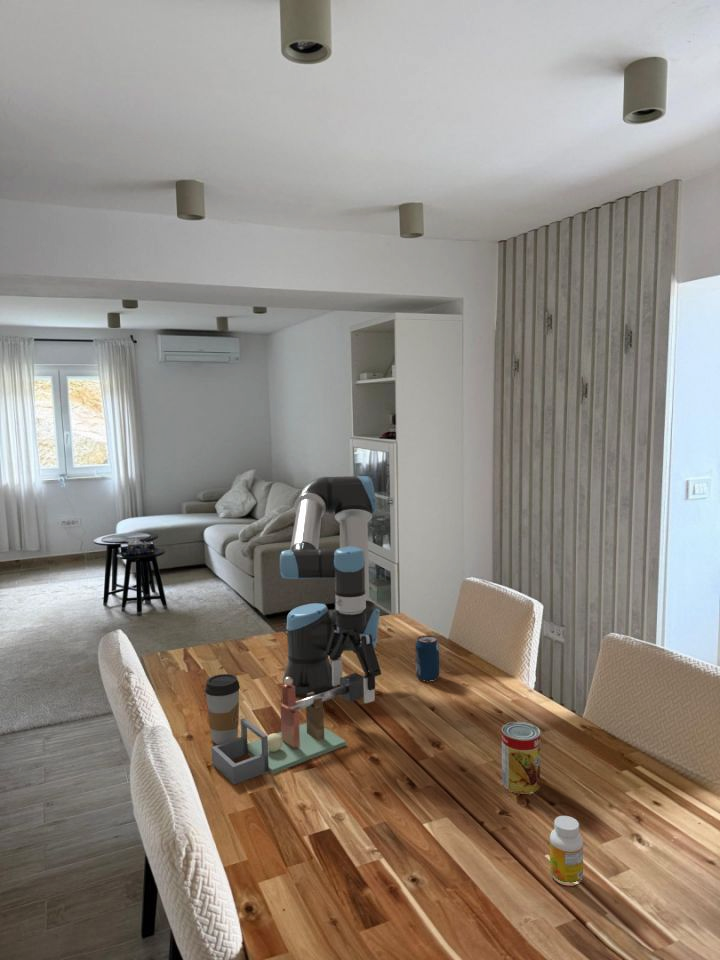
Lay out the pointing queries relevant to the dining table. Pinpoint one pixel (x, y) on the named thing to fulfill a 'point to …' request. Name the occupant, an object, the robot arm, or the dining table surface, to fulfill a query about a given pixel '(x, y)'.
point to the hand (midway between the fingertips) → (352, 692)
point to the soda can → (427, 658)
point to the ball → (274, 742)
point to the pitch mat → (295, 756)
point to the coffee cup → (223, 707)
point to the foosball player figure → (315, 718)
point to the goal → (238, 748)
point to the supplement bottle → (566, 850)
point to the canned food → (521, 757)
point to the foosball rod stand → (348, 690)
